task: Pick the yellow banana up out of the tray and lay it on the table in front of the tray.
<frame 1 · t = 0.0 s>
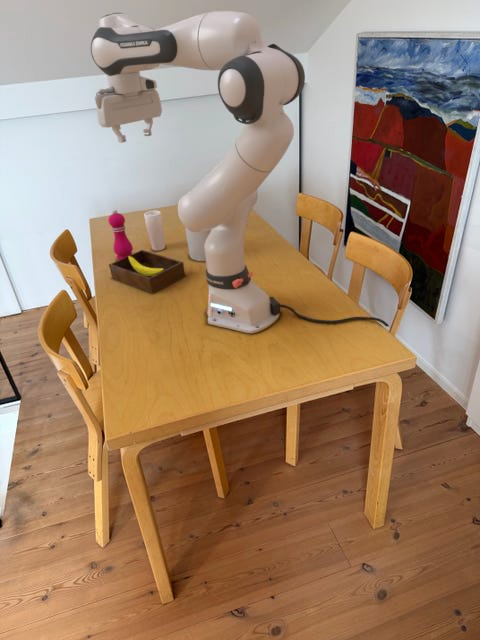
hand: (135, 138, 132), 48 cm above the table, tool pointing down, fingers open, 8 cm apart
drinking glass: (159, 249, 186), on the table
tray: (148, 277, 164), on the table
banana: (148, 276, 164), resting on tray
utensil holder: (207, 254, 177), on the table
pepper mill: (125, 259, 180), on the table
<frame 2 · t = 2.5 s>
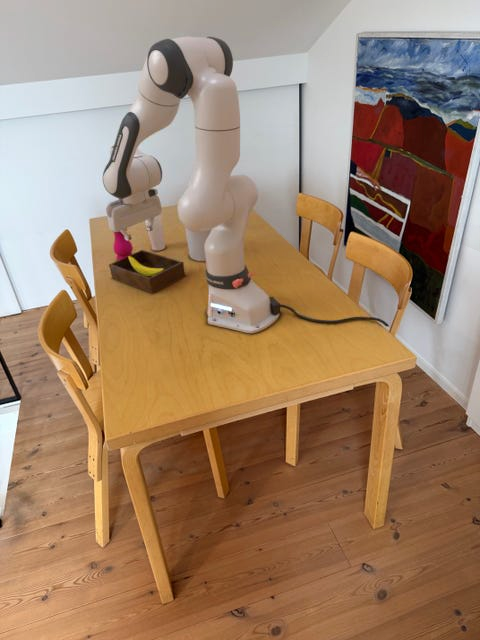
hand: (139, 235, 156), 16 cm above the table, tool pointing down, fingers open, 8 cm apart
nothing on the table moved.
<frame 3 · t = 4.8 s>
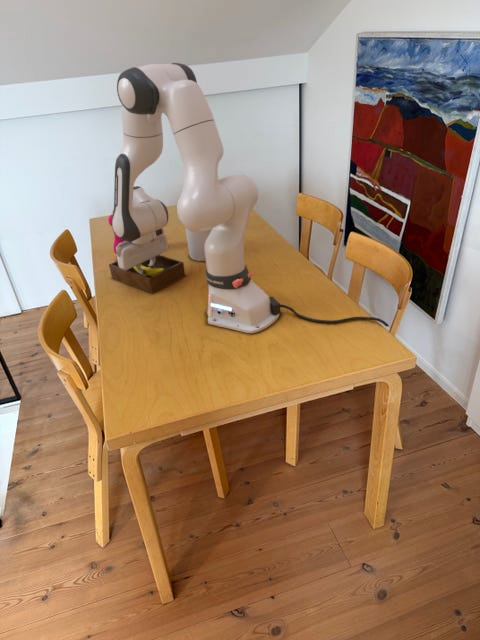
hand: (147, 271, 163), 2 cm above the table, tool pointing down, fingers closed on banana, 3 cm apart
banana: (148, 276, 164), resting on tray, touching gripper
everything else where it was.
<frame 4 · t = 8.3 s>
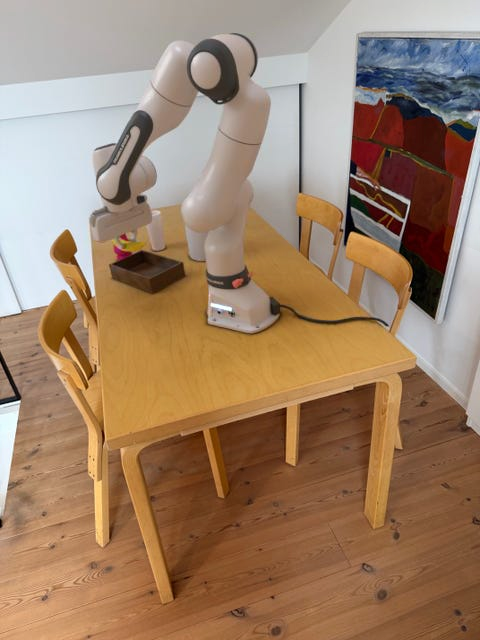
hand: (127, 246, 141), 18 cm above the table, tool pointing down, fingers closed on banana, 3 cm apart
banana: (129, 252, 142), point 16 cm above the table, touching gripper
everything else where it was.
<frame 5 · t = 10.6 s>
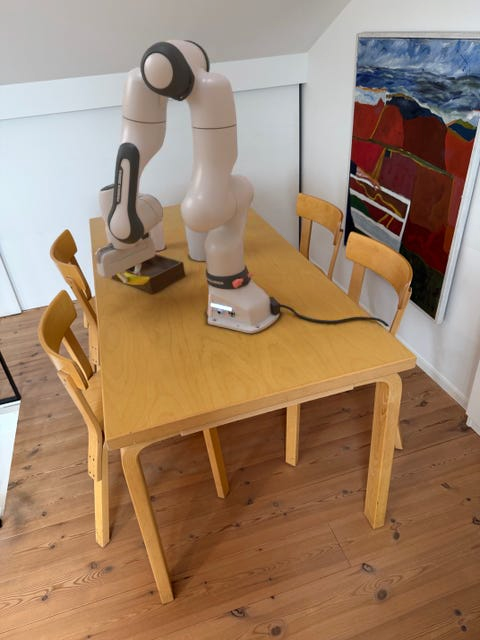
hand: (131, 279, 145), 8 cm above the table, tool pointing down, fingers closed on banana, 3 cm apart
banana: (133, 284, 146), point 6 cm above the table, touching gripper
everything else where it was.
when the fingers open (2 cm above the table, at t = 12.3 s): banana stays where it is, on the table.
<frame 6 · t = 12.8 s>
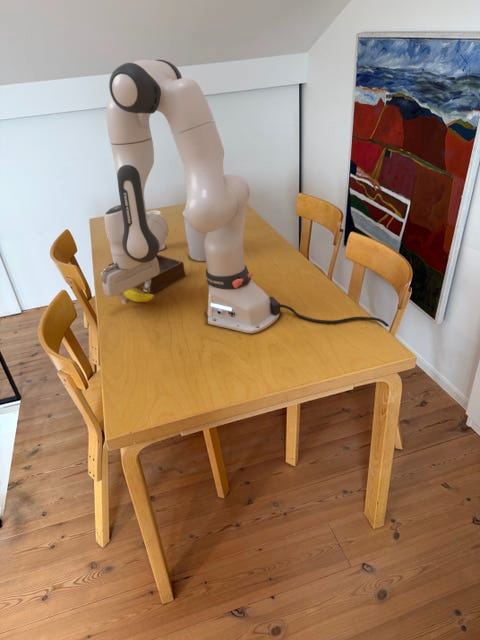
hand: (136, 297, 148), 2 cm above the table, tool pointing down, fingers open, 7 cm apart
banana: (137, 301, 149), on the table
everything else where it was.
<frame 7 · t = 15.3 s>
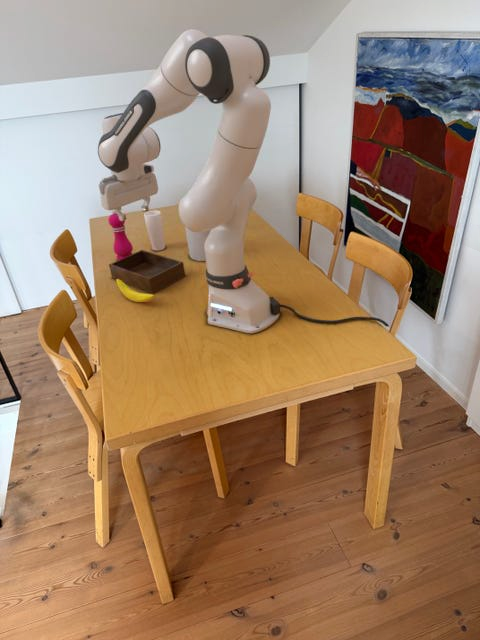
hand: (134, 215, 146), 25 cm above the table, tool pointing down, fingers open, 8 cm apart
nothing on the table moved.
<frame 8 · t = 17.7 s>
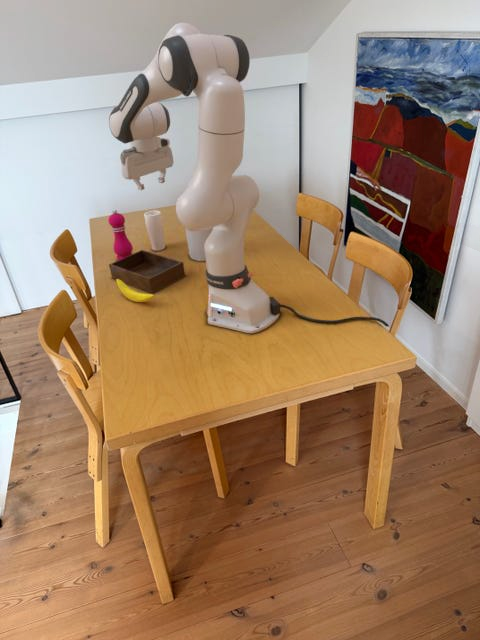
hand: (151, 186, 159), 29 cm above the table, tool pointing down, fingers open, 8 cm apart
nothing on the table moved.
at the end: banana inside the target area (0.2 cm from its centre), on the table; banana touching table; the gripper is holding nothing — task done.
